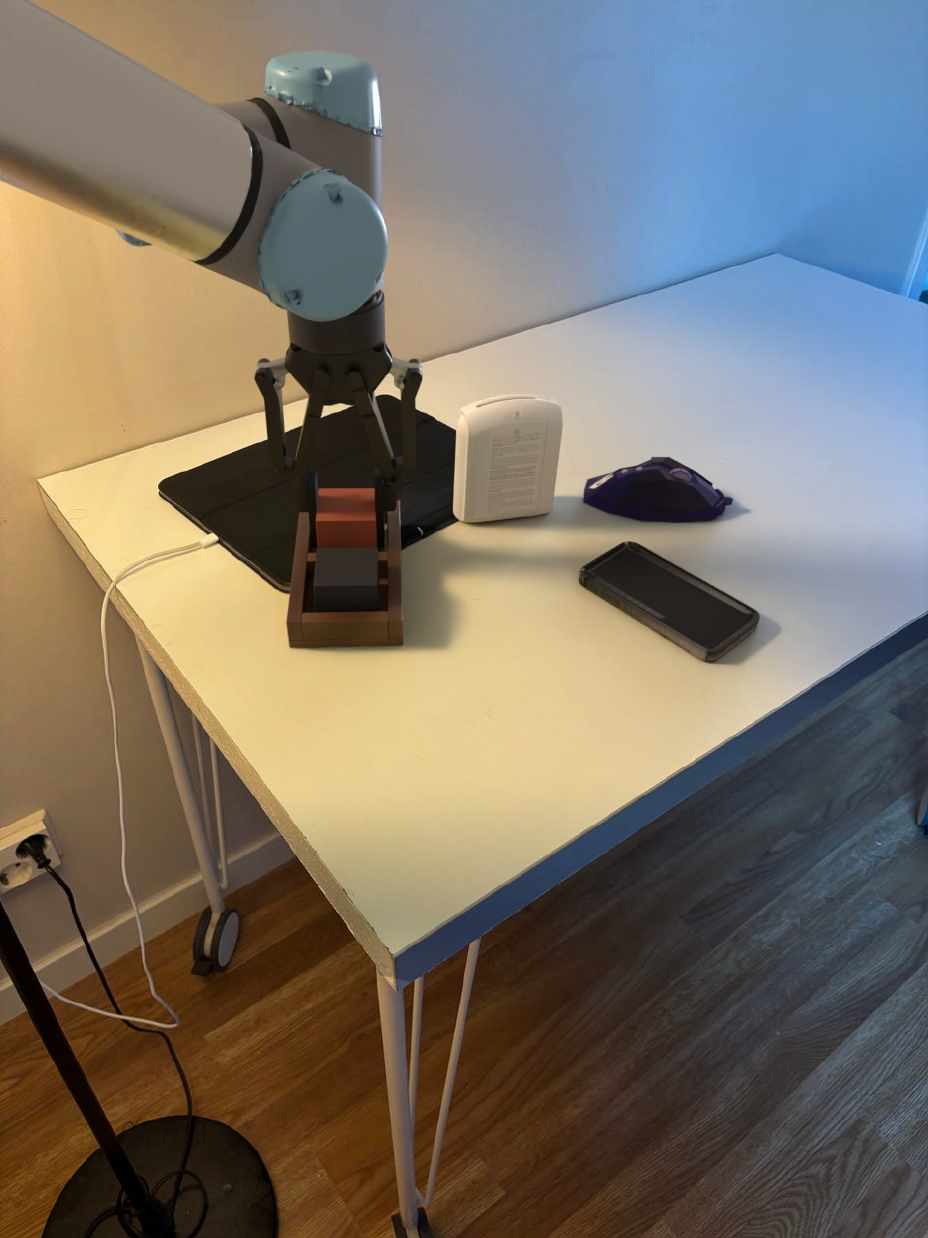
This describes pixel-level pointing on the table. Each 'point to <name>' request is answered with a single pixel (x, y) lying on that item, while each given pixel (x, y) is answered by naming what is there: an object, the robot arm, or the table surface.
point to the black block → (346, 580)
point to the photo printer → (506, 457)
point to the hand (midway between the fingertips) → (348, 537)
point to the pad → (346, 518)
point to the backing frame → (346, 626)
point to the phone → (669, 600)
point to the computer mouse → (656, 493)
